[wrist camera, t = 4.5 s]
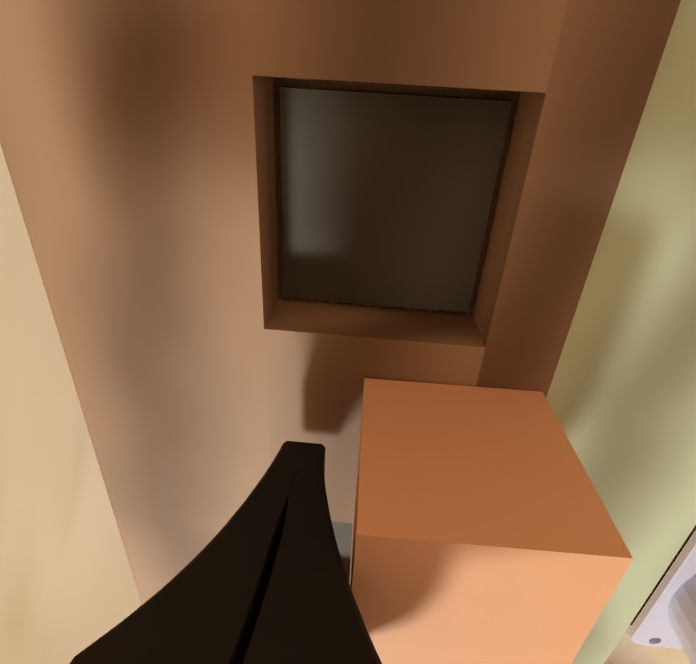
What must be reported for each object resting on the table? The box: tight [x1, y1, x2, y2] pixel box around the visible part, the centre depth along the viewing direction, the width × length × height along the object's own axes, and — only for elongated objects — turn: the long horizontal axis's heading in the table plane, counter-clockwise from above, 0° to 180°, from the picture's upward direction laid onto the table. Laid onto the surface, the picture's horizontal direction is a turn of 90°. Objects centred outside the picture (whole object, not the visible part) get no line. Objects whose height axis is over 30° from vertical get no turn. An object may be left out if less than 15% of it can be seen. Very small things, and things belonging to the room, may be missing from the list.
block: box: [349, 378, 633, 664], centre depth 11 cm, size 5×5×5 cm
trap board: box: [0, 0, 696, 664], centre depth 15 cm, size 20×23×2 cm
